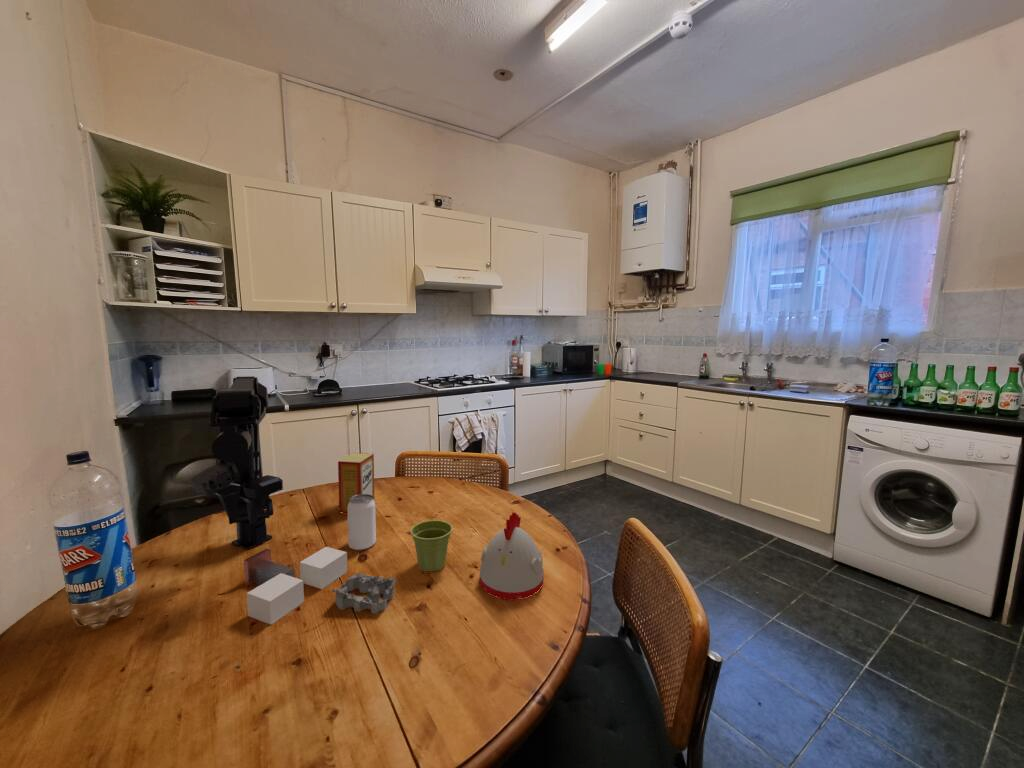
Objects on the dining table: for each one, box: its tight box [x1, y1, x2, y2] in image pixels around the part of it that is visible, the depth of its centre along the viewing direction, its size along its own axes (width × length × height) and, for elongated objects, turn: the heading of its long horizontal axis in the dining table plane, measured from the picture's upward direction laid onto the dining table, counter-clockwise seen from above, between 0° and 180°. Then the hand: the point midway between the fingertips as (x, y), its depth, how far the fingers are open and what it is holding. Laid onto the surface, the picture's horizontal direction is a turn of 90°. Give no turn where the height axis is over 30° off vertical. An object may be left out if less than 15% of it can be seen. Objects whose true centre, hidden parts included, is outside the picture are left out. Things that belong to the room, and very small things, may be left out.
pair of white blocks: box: [246, 546, 348, 625], centre depth 82 cm, size 6×18×4 cm, turn 158°
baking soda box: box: [337, 452, 375, 513], centre depth 123 cm, size 10×6×16 cm
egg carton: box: [331, 572, 397, 614], centre depth 80 cm, size 11×8×4 cm
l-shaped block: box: [243, 548, 295, 586], centre depth 85 cm, size 9×5×5 cm, turn 68°
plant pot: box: [410, 519, 453, 572], centre depth 93 cm, size 9×9×9 cm
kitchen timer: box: [479, 511, 545, 600], centre depth 87 cm, size 14×14×15 cm
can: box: [347, 494, 377, 551], centre depth 101 cm, size 6×6×12 cm
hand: (242, 519), depth 87 cm, fingers open, 6 cm apart
